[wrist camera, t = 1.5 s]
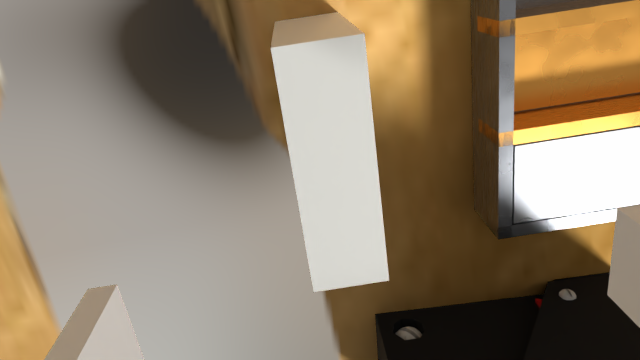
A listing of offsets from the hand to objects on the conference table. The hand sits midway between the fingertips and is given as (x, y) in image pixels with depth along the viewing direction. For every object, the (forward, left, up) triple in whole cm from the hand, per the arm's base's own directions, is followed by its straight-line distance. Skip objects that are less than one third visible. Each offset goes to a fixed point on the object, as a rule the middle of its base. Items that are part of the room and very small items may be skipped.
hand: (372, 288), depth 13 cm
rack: (+16, +1, -18) cm, 24 cm away
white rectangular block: (0, 0, -18) cm, 18 cm away
